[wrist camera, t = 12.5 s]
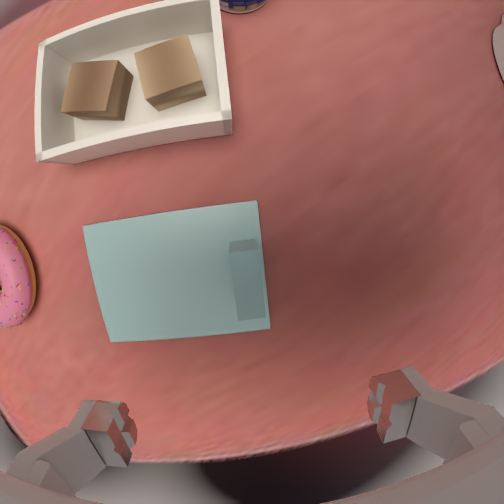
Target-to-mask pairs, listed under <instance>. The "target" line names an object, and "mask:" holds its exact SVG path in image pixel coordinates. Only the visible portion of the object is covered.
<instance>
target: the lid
mask: <svg viewBox="0 0 504 504" xmlns="http://www.w3.org/2000/svg"><path fill="white" fill-rule="evenodd" d="M83 232H84V237H85V243H86V248H87V253H88V258H89V263H90V267H91V272H92V276H93V280H94V284H95V289H96V293H97V296H98V300H99V304H100V308H101V311H102V315H103V318H104V322H105V325H106V329H107V332H108V335H109V338H110V342H124V341H145V340H161V339H175V338H188V337H199V336H210V335H220V334H229V333H238V332H247V331H255V330H263V329H270V318H269V308H268V298H267V289H266V279H265V270H264V260H263V251H262V241H261V232H260V223H259V214H258V205H257V200H253V201H245V202H236V203H228V204H220V205H212V206H205V207H197V208H190V209H183V210H176V211H169V212H162V213H156V214H149V215H143V216H137V217H131V218H125V219H119V220H113V221H107V222H101V223H96V224H90V225H85V226H83Z"/></svg>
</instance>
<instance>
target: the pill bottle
mask: <svg viewBox="0 0 504 504" xmlns="http://www.w3.org/2000/svg"><path fill="white" fill-rule="evenodd" d="M266 1H267V0H219V5H220V9H222V10H224V11H227V12H231V13H248V12H251V11H254V10H257V9H258V8H260V7H261V6H263V5H264V4H265V2H266Z"/></svg>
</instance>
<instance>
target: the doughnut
mask: <svg viewBox="0 0 504 504" xmlns="http://www.w3.org/2000/svg"><path fill="white" fill-rule="evenodd" d="M0 281H1V284H0V285H2V291H1V290H0V330H1V328H7V327H10V329H11V327H14V326H18V325H19V324H22V322H23V321H24V320H25V319H26V317H27V316H28V314H29V313H30V311H31V309H32V307H33V304H34V300H35V294H36V278H35V272H34V268H33V264H32V261H31V258H30V256H29V253H28V251H27V249H26V247H25V246H24V244H23V243H22V241H21V240H20V239H19V237H18V236H17V235H16V234H15V233H14V232H13V231H11V230H10V229H9V228H7V227H5V226H3V225H0Z"/></svg>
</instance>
